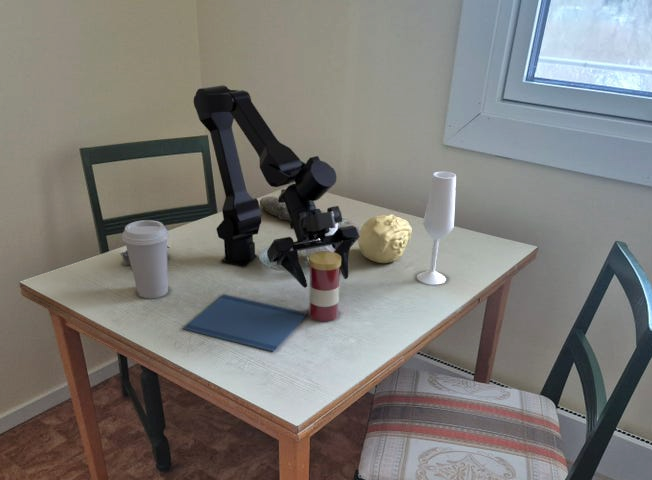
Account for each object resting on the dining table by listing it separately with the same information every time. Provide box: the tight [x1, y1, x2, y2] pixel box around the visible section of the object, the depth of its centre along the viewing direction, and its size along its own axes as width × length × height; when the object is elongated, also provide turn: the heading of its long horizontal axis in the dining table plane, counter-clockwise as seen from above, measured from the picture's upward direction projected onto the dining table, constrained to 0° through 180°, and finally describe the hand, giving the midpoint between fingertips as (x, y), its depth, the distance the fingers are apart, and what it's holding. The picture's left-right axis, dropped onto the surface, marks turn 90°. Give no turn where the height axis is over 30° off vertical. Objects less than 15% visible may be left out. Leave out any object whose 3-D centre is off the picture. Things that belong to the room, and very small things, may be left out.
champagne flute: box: [416, 171, 457, 286], centre depth 142 cm, size 7×7×24 cm
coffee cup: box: [121, 219, 170, 299], centre depth 137 cm, size 10×10×15 cm
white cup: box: [305, 223, 338, 264], centre depth 153 cm, size 8×8×10 cm
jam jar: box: [308, 251, 341, 322], centre depth 130 cm, size 6×6×13 cm
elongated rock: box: [259, 195, 361, 232], centre depth 176 cm, size 35×5×10 cm
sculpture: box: [357, 213, 413, 264], centre depth 155 cm, size 12×12×11 cm
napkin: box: [182, 294, 308, 353], centre depth 130 cm, size 20×16×1 cm
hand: (326, 282), depth 129 cm, fingers open, 9 cm apart
